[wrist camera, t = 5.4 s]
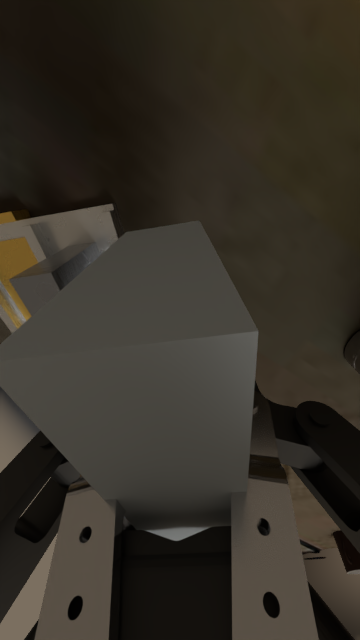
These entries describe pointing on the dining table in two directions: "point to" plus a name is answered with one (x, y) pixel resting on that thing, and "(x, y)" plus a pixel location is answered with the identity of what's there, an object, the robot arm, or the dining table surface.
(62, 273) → the rack
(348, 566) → the coffee mug
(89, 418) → the panel
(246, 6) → the dining table surface
